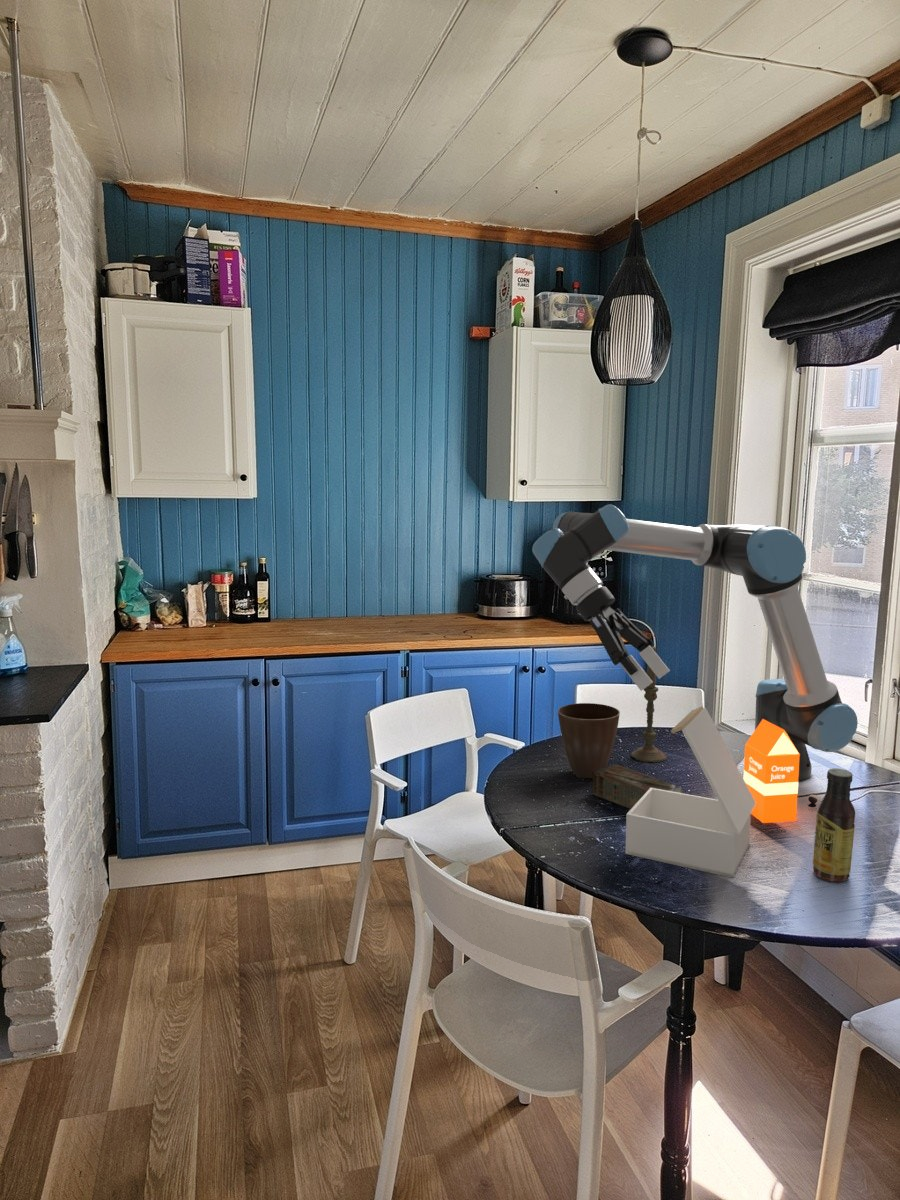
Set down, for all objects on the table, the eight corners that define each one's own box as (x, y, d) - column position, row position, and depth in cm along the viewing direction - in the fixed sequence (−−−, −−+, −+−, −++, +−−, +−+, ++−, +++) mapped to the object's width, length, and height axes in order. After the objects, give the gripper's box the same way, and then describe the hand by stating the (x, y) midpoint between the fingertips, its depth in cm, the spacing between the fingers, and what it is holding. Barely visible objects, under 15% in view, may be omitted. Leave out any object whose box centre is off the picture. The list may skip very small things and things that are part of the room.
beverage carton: (659, 822, 173) (660, 792, 172) (590, 796, 187) (590, 768, 186) (682, 812, 178) (682, 783, 177) (612, 788, 192) (613, 761, 191)
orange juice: (762, 823, 171) (767, 731, 168) (741, 807, 180) (745, 719, 177) (797, 820, 172) (802, 729, 170) (774, 804, 181) (778, 717, 178)
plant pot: (578, 788, 191) (579, 722, 189) (545, 768, 205) (546, 706, 203) (630, 779, 197) (632, 714, 195) (596, 760, 211) (597, 700, 209)
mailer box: (625, 853, 157) (626, 814, 156) (649, 824, 171) (650, 787, 170) (733, 877, 147) (734, 835, 146) (749, 844, 161) (751, 805, 160)
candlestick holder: (670, 762, 209) (674, 647, 205) (635, 762, 209) (638, 647, 205) (662, 751, 218) (665, 641, 214) (627, 751, 218) (630, 641, 214)
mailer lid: (670, 731, 150) (683, 726, 148) (692, 710, 164) (704, 704, 162) (725, 838, 147) (739, 834, 145) (743, 807, 161) (756, 803, 160)
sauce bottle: (805, 868, 151) (811, 765, 148) (838, 867, 151) (844, 764, 148) (824, 885, 144) (831, 778, 141) (858, 884, 145) (865, 776, 142)
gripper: (595, 602, 177) (657, 680, 172) (553, 613, 155) (623, 703, 150) (621, 580, 174) (685, 659, 169) (582, 588, 152) (654, 680, 147)
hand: (656, 680), depth 160 cm, fingers open, 13 cm apart
